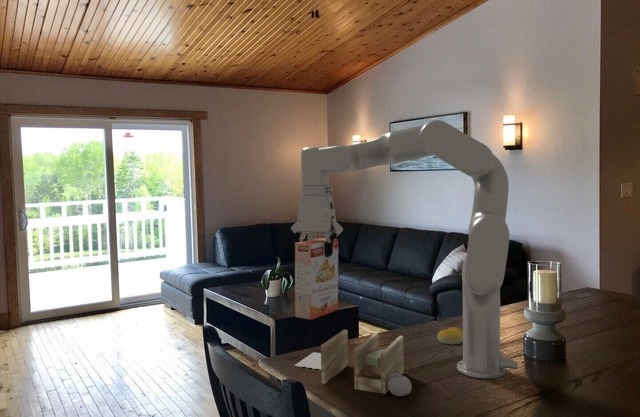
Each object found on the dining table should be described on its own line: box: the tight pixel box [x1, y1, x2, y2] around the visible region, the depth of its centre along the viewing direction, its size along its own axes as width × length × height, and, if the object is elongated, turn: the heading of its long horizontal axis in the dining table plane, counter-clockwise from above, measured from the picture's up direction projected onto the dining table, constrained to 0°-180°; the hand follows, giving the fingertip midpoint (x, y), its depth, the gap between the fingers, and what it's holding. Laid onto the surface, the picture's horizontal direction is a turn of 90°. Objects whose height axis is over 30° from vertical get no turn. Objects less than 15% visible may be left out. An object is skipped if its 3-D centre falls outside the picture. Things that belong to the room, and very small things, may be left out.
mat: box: [293, 352, 321, 371], centre depth 159 cm, size 10×12×1 cm
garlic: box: [388, 373, 413, 397], centre depth 135 cm, size 6×5×5 cm
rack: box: [320, 329, 405, 395], centre depth 145 cm, size 17×15×10 cm
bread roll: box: [436, 326, 463, 345], centre depth 175 cm, size 8×9×4 cm
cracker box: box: [294, 237, 339, 321], centre depth 157 cm, size 14×6×21 cm, turn 146°
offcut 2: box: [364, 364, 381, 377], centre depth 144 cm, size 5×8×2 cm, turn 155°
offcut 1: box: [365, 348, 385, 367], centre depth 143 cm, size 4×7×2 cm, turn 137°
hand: (317, 255), depth 157 cm, fingers closed on cracker box, 6 cm apart
